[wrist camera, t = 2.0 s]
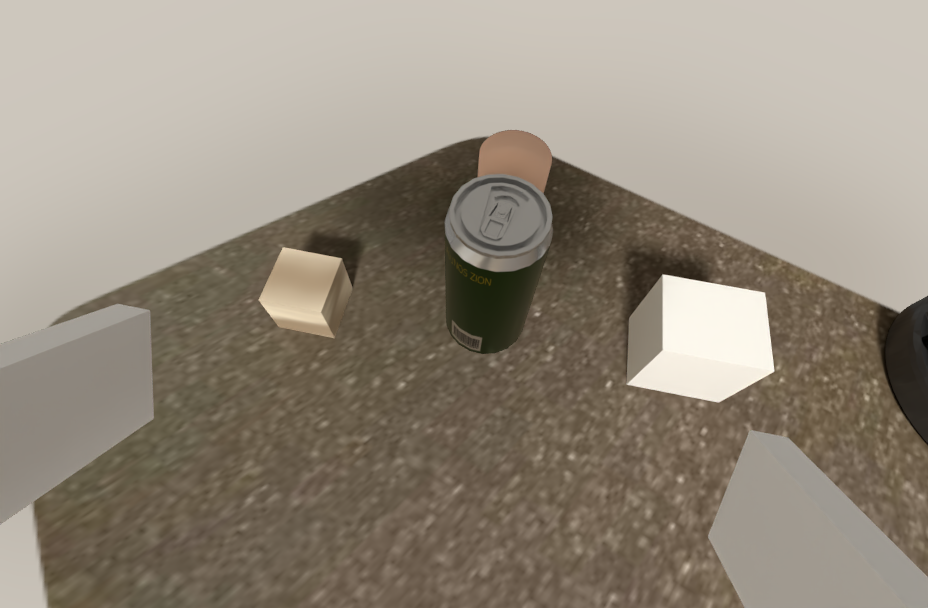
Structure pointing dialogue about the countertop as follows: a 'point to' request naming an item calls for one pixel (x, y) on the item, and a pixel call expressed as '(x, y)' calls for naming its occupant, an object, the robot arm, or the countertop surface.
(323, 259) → the birch block
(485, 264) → the green soda can
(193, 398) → the countertop surface
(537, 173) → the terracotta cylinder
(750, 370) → the off-white plastic box
